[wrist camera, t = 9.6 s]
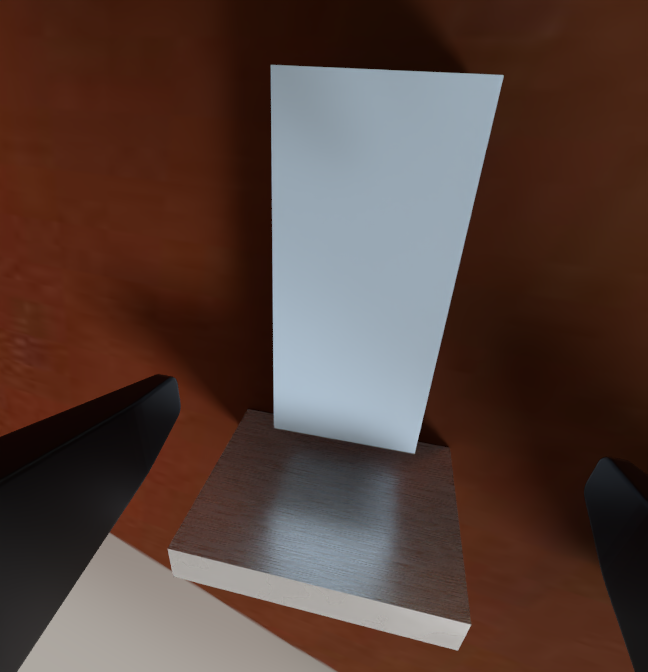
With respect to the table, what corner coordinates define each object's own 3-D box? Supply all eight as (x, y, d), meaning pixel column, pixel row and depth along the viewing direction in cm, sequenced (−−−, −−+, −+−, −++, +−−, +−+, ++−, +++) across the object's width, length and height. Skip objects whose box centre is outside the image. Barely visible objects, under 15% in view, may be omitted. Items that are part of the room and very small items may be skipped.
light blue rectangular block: (413, 393, 21) (414, 453, 17) (297, 374, 22) (273, 427, 18) (478, 89, 14) (504, 75, 10) (306, 80, 15) (270, 64, 11)
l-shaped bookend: (424, 525, 25) (431, 702, 18) (250, 487, 27) (185, 633, 19) (449, 447, 22) (471, 624, 14) (247, 408, 23) (167, 548, 16)
